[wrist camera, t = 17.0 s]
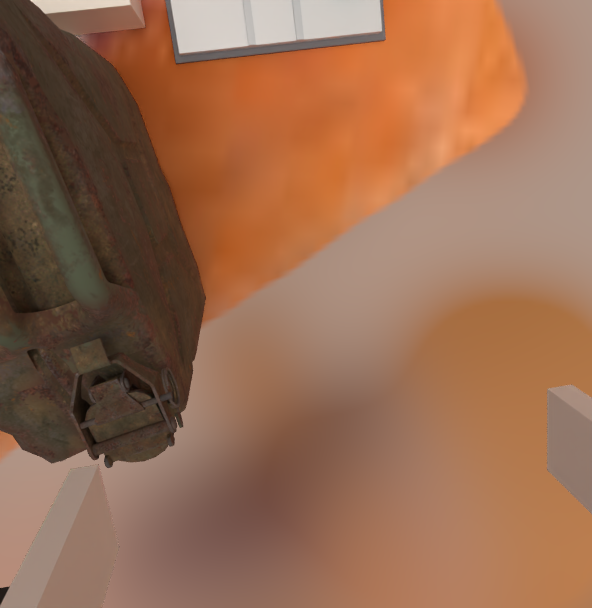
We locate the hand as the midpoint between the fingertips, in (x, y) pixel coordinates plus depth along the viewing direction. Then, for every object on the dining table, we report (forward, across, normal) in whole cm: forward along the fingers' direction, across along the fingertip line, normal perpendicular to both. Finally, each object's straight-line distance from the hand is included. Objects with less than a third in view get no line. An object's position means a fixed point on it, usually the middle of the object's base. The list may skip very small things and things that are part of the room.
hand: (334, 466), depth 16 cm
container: (+37, -12, +6) cm, 39 cm away
